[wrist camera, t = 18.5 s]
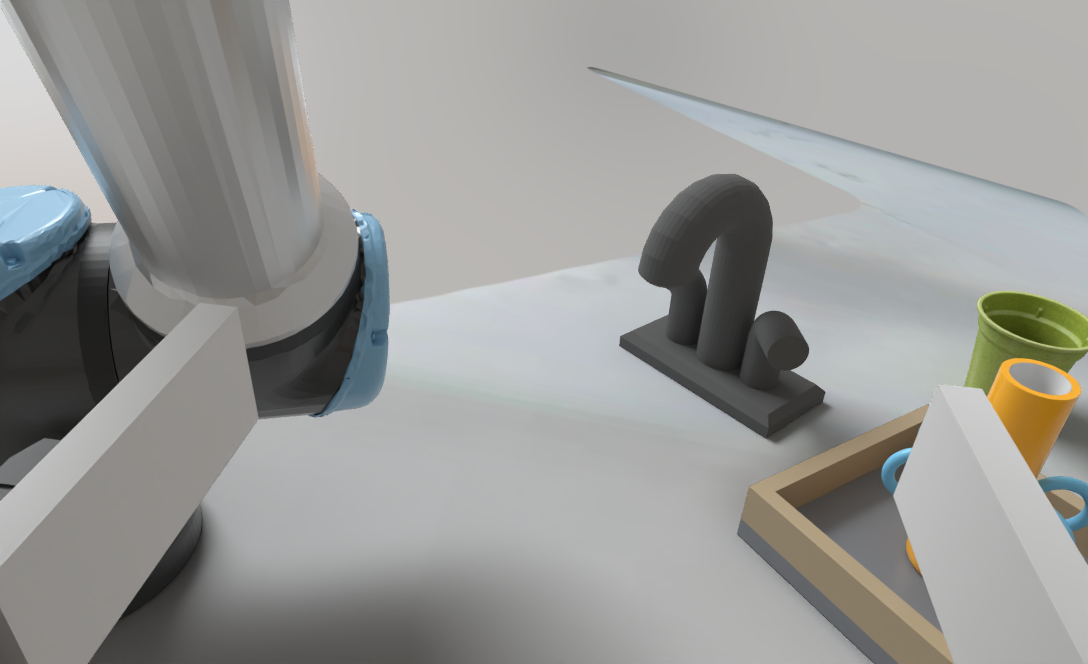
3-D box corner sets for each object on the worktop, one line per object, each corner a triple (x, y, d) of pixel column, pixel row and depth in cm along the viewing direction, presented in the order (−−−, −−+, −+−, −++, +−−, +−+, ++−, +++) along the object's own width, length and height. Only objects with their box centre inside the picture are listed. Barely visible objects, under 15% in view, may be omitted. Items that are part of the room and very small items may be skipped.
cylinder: (1034, 528, 54) (1130, 350, 46) (1077, 654, 46) (1204, 461, 38) (851, 489, 57) (913, 313, 49) (860, 600, 48) (936, 409, 40)
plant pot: (1065, 396, 71) (1107, 315, 66) (1051, 448, 64) (1096, 362, 60) (957, 358, 75) (989, 280, 71) (934, 403, 69) (967, 320, 64)
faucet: (556, 369, 71) (571, 157, 60) (672, 317, 79) (703, 125, 69) (711, 479, 59) (763, 242, 49) (826, 404, 68) (891, 190, 57)
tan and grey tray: (737, 533, 54) (749, 486, 52) (911, 447, 63) (928, 403, 61) (994, 777, 41) (1027, 728, 38) (1170, 623, 50) (1205, 575, 47)
